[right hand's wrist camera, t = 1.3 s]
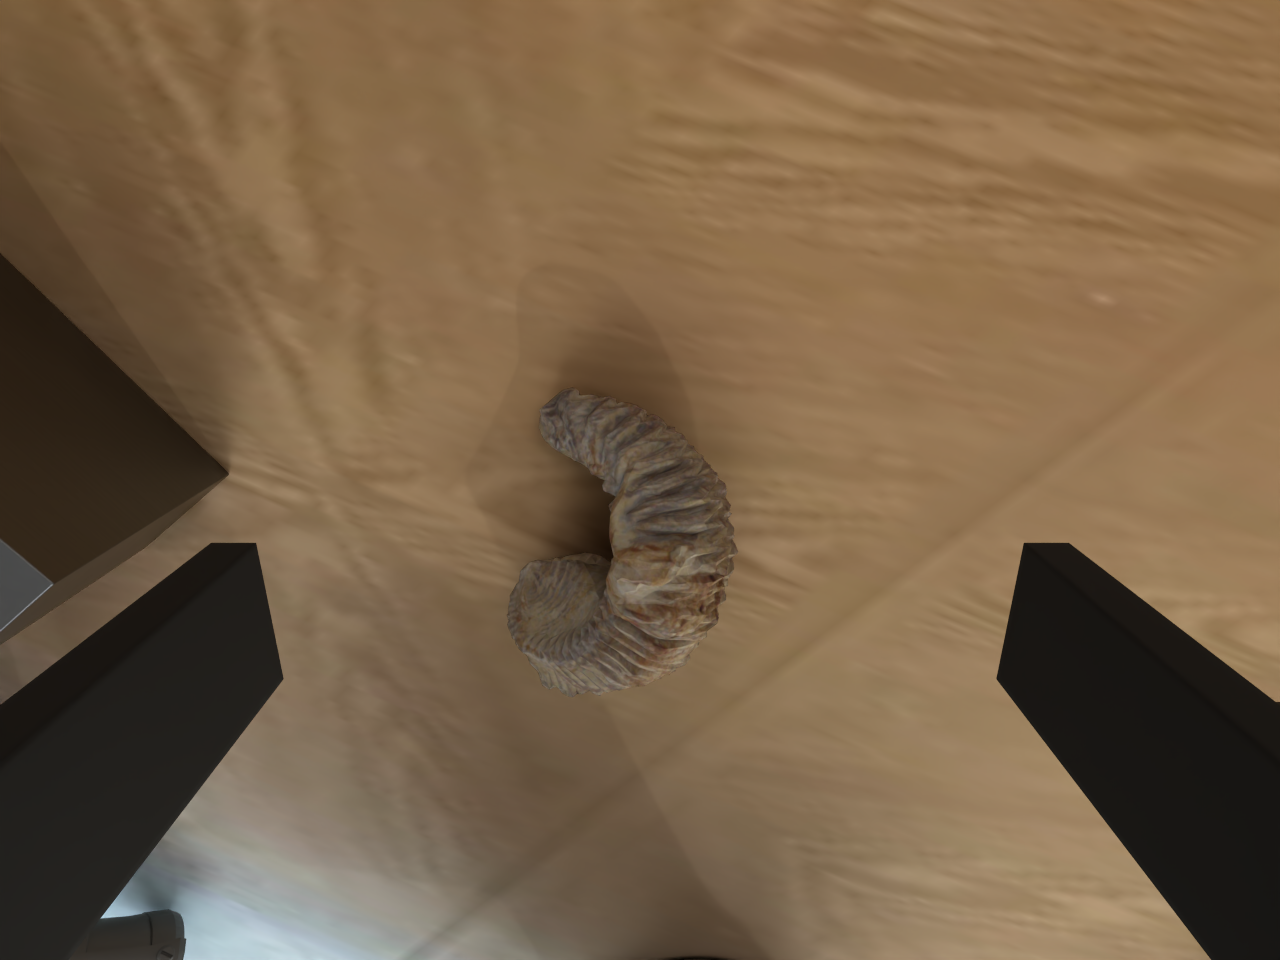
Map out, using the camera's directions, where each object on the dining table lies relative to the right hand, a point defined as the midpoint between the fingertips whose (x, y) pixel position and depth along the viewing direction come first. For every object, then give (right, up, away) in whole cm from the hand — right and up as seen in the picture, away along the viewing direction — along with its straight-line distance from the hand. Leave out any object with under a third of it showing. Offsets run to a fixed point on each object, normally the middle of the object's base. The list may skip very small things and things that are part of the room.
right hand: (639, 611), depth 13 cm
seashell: (-2, 0, +23) cm, 23 cm away
